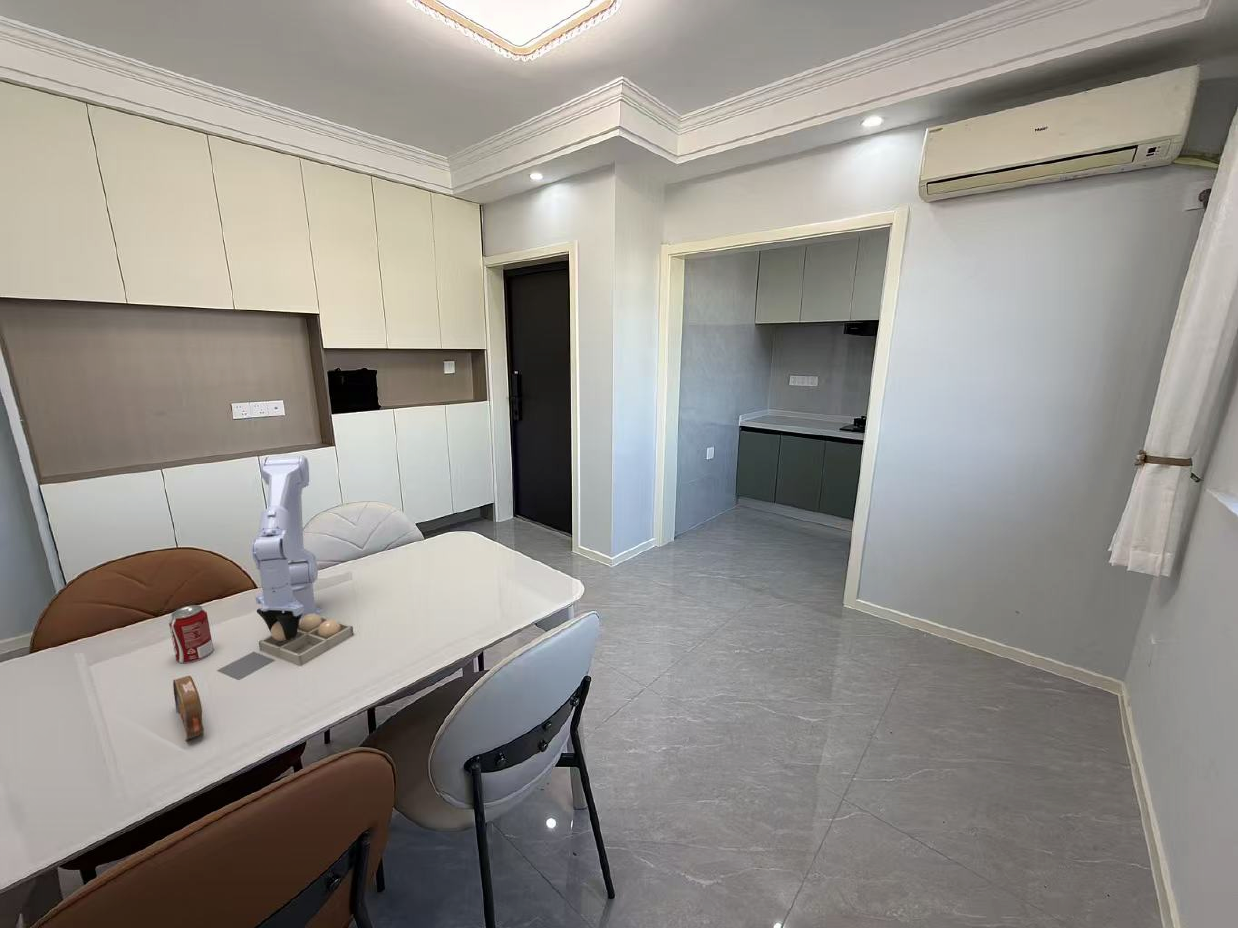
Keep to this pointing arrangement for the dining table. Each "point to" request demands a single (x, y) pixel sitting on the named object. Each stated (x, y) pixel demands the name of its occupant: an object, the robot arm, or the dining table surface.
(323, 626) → the seated egg
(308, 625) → the seated egg
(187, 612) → the soda can
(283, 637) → the loose egg
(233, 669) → the slate coaster
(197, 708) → the tin
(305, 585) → the robot arm
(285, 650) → the egg tray
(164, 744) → the dining table surface
